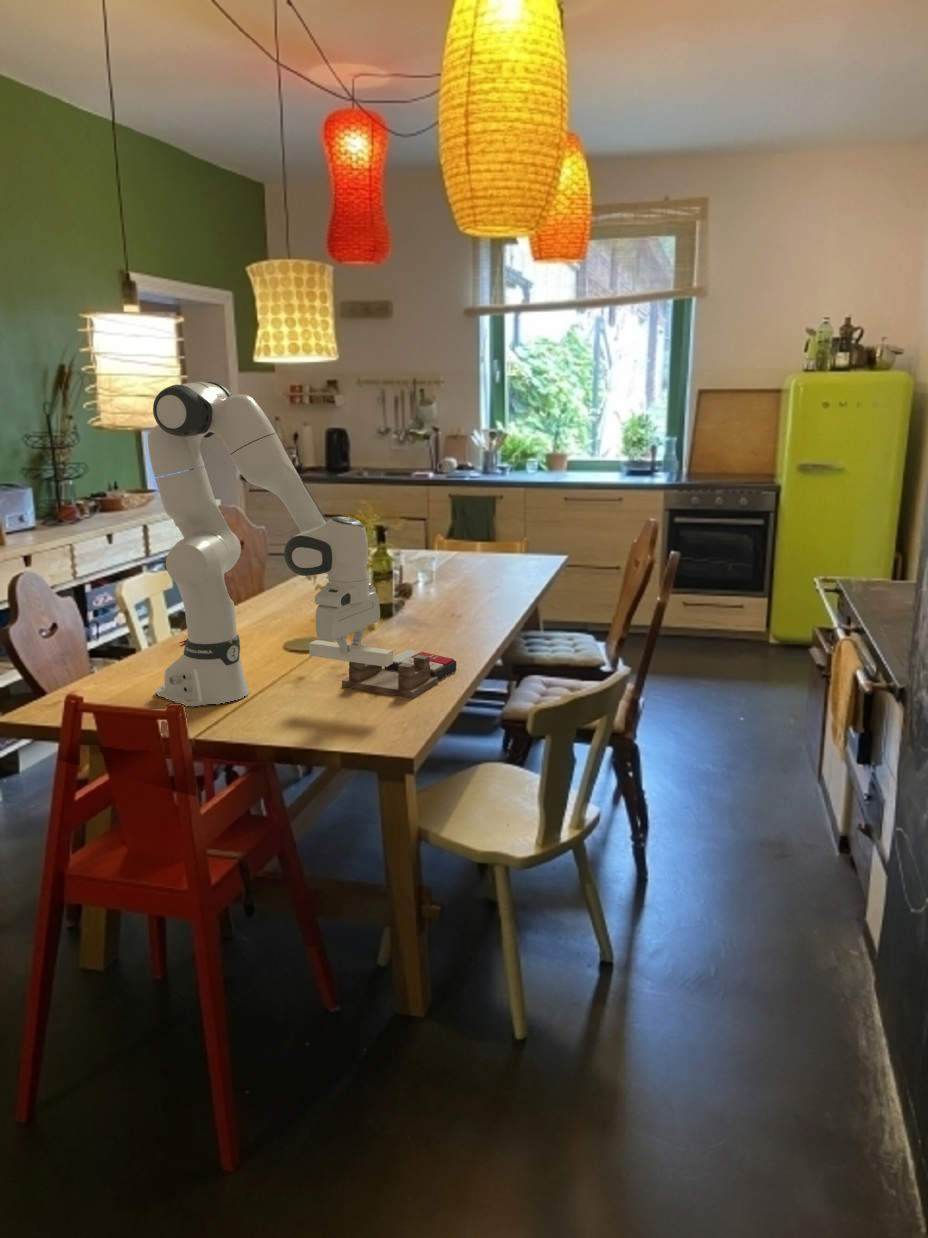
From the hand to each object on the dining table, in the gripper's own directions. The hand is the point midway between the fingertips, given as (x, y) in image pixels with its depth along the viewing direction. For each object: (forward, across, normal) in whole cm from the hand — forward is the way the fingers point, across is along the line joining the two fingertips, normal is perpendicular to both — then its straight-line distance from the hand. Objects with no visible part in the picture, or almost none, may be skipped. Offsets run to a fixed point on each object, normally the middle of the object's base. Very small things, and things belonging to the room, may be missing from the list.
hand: (350, 650), depth 199 cm
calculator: (+13, -27, +2) cm, 30 cm away
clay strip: (+2, 0, 0) cm, 2 cm away
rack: (+13, -15, +1) cm, 20 cm away
